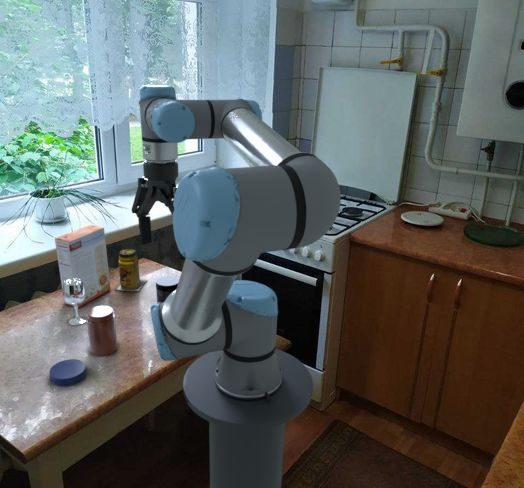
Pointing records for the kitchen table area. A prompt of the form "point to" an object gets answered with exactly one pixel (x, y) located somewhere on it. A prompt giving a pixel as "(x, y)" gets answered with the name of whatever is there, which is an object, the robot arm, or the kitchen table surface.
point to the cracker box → (84, 260)
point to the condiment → (129, 271)
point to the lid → (67, 372)
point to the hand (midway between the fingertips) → (164, 250)
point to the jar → (102, 330)
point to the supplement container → (165, 287)
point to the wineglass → (74, 297)
